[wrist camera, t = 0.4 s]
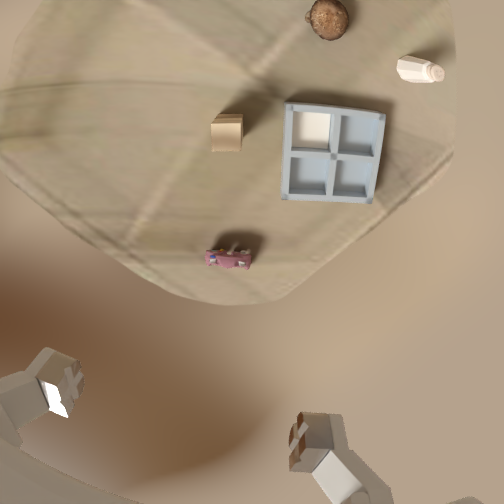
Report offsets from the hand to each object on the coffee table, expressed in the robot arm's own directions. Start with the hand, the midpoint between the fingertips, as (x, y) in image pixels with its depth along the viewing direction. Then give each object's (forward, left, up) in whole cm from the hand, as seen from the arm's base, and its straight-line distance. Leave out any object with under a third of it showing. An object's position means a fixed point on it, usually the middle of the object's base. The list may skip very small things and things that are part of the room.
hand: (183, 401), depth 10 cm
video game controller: (+22, +18, -50) cm, 58 cm away
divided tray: (-8, +15, -50) cm, 52 cm away
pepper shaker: (-31, +12, -50) cm, 60 cm away
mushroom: (-24, -4, -50) cm, 55 cm away
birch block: (+2, -1, -50) cm, 50 cm away
